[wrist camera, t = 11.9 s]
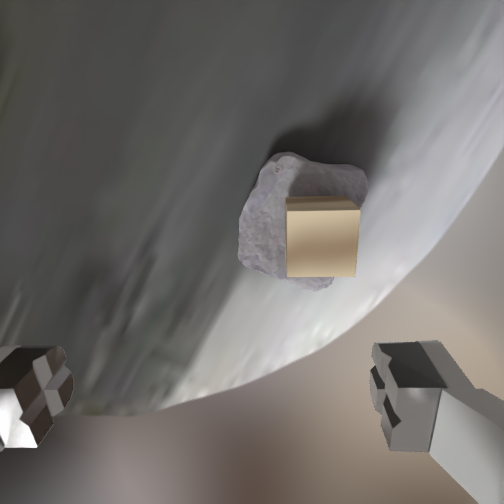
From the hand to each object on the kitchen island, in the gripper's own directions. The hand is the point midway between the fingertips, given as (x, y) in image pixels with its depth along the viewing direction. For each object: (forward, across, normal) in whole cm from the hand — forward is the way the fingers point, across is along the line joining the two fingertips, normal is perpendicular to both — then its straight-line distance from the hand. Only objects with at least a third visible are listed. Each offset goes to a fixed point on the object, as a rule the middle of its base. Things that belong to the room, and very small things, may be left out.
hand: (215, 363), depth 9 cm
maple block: (+21, -5, +3) cm, 22 cm away
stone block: (+25, -3, +3) cm, 25 cm away
